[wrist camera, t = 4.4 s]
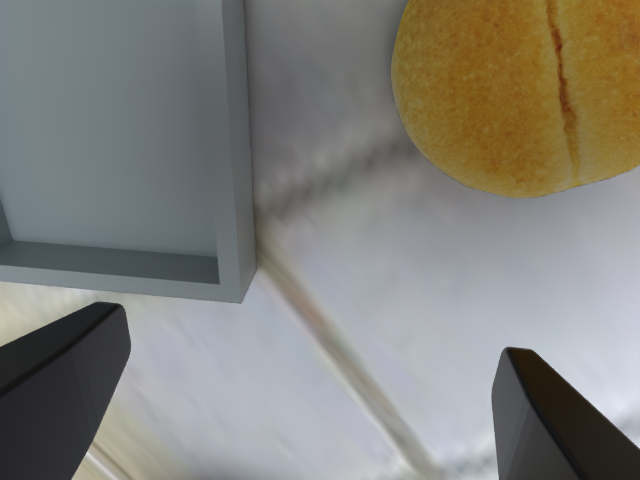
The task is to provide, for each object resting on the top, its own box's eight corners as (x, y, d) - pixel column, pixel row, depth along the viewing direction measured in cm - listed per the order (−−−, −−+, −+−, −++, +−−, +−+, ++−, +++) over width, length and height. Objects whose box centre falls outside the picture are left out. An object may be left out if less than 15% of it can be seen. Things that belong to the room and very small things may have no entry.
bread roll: (364, -31, 16) (362, -36, 12) (683, -135, 14) (789, -176, 10) (418, 208, 19) (428, 259, 16) (681, 149, 17) (761, 191, 14)
